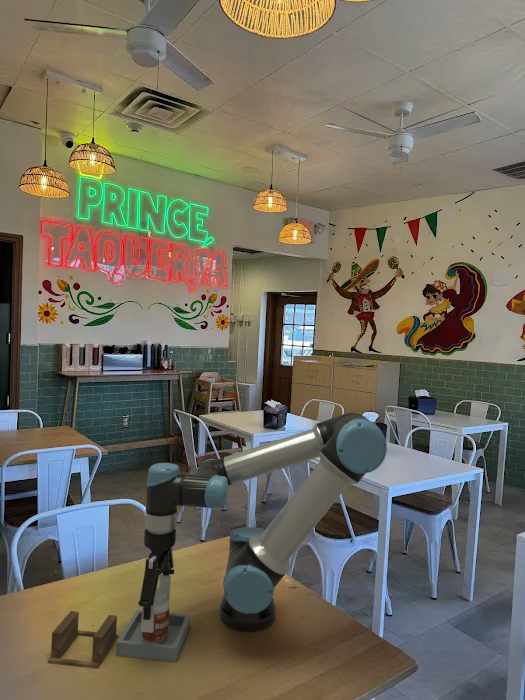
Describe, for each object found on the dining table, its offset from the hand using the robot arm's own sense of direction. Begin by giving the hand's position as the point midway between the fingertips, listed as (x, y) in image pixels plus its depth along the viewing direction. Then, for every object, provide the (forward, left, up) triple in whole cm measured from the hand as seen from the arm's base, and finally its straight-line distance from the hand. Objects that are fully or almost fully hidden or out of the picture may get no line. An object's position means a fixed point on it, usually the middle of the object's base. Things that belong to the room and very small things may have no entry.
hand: (156, 615), depth 120 cm
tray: (0, 0, -6) cm, 6 cm away
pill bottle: (0, 0, -6) cm, 6 cm away
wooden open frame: (+15, +6, -6) cm, 17 cm away
